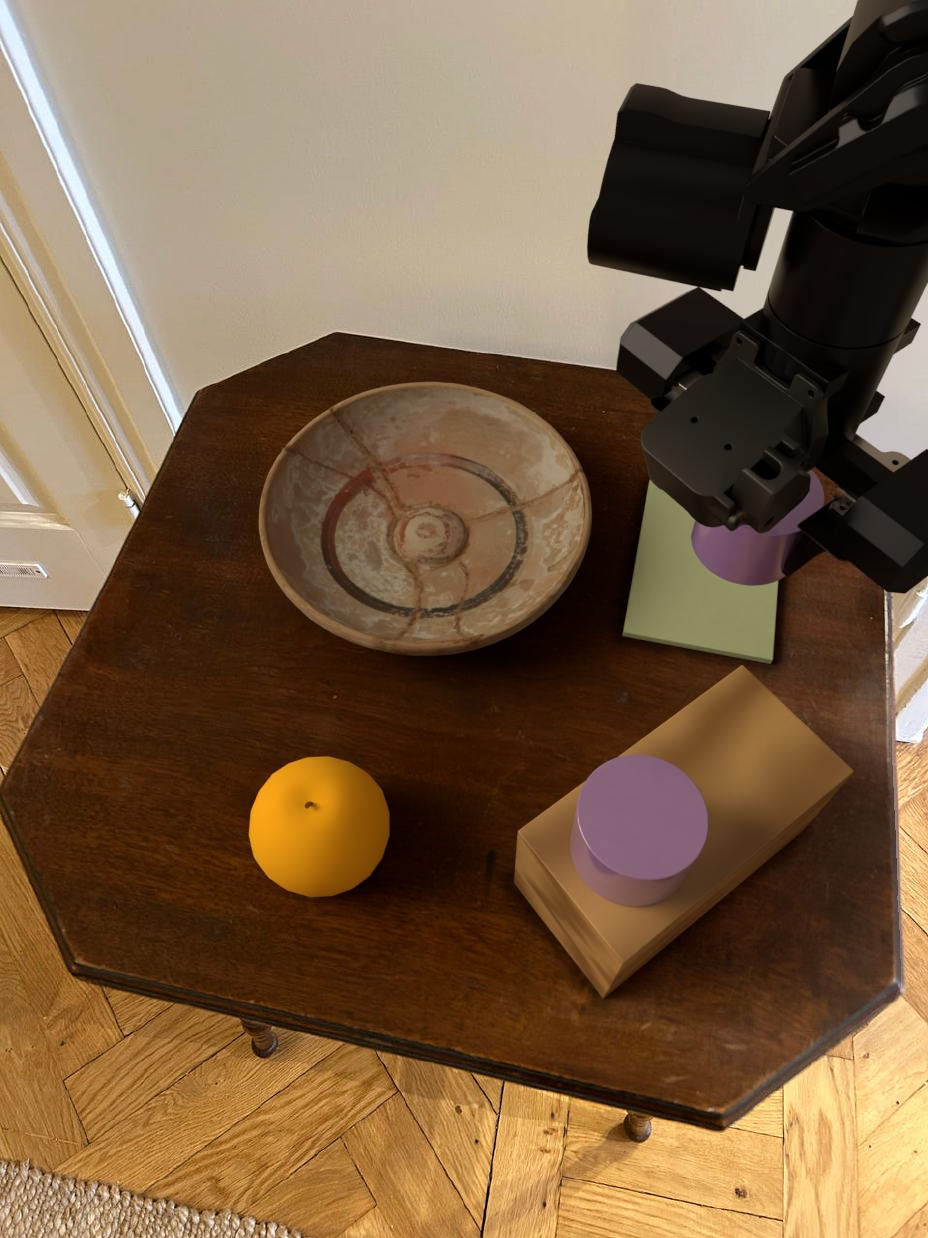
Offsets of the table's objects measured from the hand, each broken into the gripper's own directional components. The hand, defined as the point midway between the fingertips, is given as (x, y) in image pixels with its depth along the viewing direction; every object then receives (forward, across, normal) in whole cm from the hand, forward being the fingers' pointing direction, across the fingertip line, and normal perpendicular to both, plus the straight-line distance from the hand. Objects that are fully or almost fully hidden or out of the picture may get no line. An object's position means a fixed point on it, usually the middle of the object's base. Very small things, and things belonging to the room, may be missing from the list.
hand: (747, 534), depth 51 cm
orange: (+13, -4, -27) cm, 31 cm away
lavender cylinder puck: (+4, +9, -16) cm, 18 cm away
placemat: (+13, -5, +5) cm, 15 cm away
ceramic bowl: (+13, -19, -9) cm, 25 cm away
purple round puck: (+1, 0, 0) cm, 1 cm away
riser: (+13, +9, -12) cm, 20 cm away
